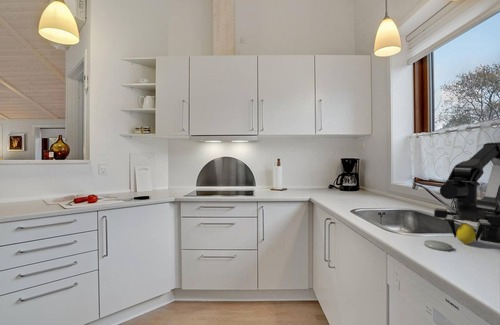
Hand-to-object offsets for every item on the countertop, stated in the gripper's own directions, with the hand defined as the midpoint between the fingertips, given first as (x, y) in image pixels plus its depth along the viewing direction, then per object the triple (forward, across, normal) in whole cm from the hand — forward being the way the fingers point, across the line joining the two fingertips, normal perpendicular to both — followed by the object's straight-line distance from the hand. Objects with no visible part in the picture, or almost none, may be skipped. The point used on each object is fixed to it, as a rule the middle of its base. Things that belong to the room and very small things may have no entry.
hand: (465, 238), depth 88 cm
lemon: (+2, 0, 0) cm, 2 cm away
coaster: (+2, -8, -10) cm, 13 cm away
